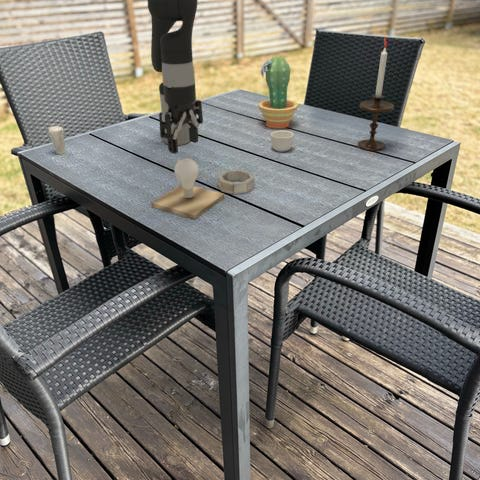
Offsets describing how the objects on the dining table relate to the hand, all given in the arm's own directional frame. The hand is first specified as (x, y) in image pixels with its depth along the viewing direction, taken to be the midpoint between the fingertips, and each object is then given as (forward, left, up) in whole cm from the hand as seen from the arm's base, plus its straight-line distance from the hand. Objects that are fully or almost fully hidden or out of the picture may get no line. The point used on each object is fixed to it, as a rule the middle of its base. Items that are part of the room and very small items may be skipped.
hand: (184, 147), depth 117 cm
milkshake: (-60, +9, -16) cm, 63 cm away
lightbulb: (0, 0, -15) cm, 15 cm away
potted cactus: (-9, +71, -16) cm, 73 cm away
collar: (+6, +15, -16) cm, 22 cm away
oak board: (0, 0, -16) cm, 16 cm away
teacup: (+4, +49, -16) cm, 52 cm away
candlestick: (+30, +65, -16) cm, 73 cm away
